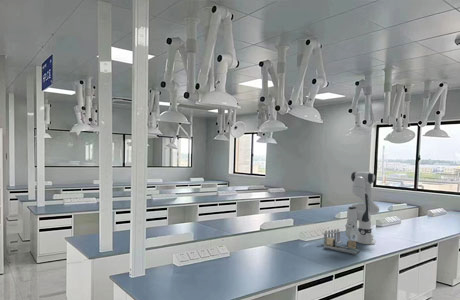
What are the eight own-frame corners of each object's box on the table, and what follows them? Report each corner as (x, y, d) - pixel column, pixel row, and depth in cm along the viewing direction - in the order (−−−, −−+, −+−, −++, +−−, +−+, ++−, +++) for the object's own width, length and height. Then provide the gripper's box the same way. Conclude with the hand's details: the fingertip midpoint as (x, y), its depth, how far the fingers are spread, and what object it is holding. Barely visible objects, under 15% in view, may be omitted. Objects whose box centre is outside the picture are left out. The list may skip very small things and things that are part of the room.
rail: (328, 246, 297) (328, 236, 297) (358, 252, 278) (359, 242, 278) (324, 248, 289) (324, 238, 289) (354, 255, 271) (355, 244, 271)
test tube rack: (325, 245, 298) (325, 231, 299) (321, 244, 302) (321, 230, 302) (342, 242, 312) (342, 229, 312) (338, 241, 316) (338, 228, 316)
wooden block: (348, 248, 291) (348, 239, 291) (355, 250, 287) (356, 241, 287) (346, 249, 288) (347, 240, 288) (354, 250, 284) (354, 242, 284)
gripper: (352, 222, 297) (352, 237, 297) (344, 225, 282) (344, 241, 281) (359, 223, 293) (359, 238, 293) (351, 226, 278) (351, 242, 277)
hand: (351, 240), depth 287 cm, fingers open, 8 cm apart
